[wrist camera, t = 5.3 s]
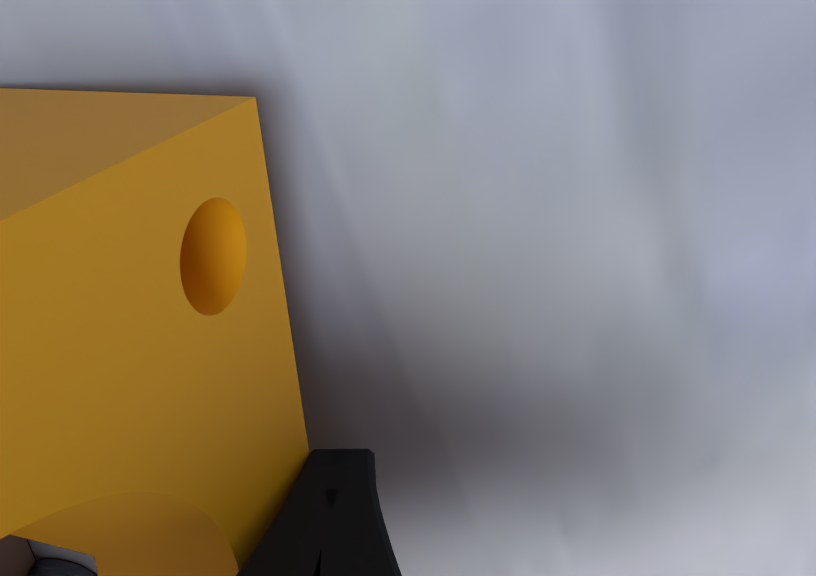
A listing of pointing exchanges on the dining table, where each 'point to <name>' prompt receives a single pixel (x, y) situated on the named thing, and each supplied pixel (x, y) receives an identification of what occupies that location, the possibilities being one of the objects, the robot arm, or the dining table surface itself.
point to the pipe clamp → (142, 331)
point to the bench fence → (32, 561)
